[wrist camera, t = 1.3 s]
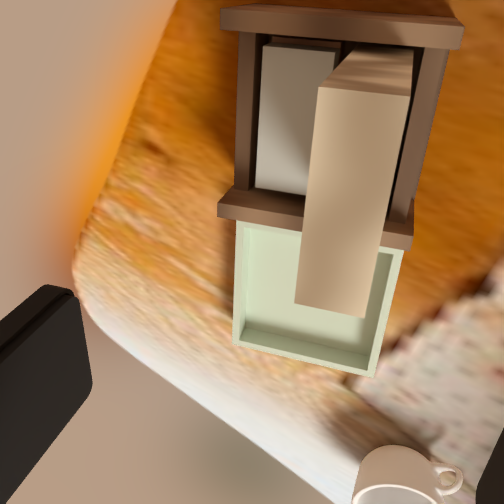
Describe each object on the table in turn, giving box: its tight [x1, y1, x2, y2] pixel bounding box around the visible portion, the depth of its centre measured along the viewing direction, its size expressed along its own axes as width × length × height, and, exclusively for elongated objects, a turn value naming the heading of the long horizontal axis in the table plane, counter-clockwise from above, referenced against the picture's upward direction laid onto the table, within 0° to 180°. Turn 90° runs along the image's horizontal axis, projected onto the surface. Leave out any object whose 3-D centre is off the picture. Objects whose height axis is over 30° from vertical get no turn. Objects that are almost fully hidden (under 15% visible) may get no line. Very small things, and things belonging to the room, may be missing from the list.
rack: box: [217, 3, 465, 251], centre depth 29 cm, size 12×12×6 cm
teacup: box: [351, 445, 463, 504], centre depth 43 cm, size 10×8×5 cm
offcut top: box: [255, 42, 340, 195], centre depth 29 cm, size 4×8×2 cm, turn 177°
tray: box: [232, 220, 404, 378], centre depth 38 cm, size 12×12×2 cm
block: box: [294, 42, 414, 318], centre depth 24 cm, size 3×9×15 cm, turn 177°
